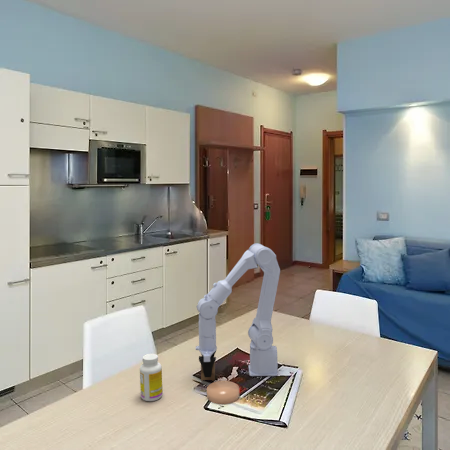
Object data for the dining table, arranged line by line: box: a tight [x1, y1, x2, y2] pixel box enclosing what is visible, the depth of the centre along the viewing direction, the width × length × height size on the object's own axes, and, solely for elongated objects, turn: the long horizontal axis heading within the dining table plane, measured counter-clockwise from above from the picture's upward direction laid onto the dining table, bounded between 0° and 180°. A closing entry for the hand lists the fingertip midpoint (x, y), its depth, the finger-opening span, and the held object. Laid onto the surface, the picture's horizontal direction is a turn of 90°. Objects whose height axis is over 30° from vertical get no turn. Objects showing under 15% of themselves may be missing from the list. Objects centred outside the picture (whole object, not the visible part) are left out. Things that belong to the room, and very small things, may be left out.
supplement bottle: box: [139, 353, 163, 402], centre depth 129 cm, size 7×7×13 cm
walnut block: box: [200, 362, 216, 382], centre depth 141 cm, size 4×4×6 cm
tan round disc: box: [206, 380, 240, 405], centre depth 129 cm, size 10×10×2 cm
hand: (208, 373), depth 141 cm, fingers closed on walnut block, 4 cm apart
